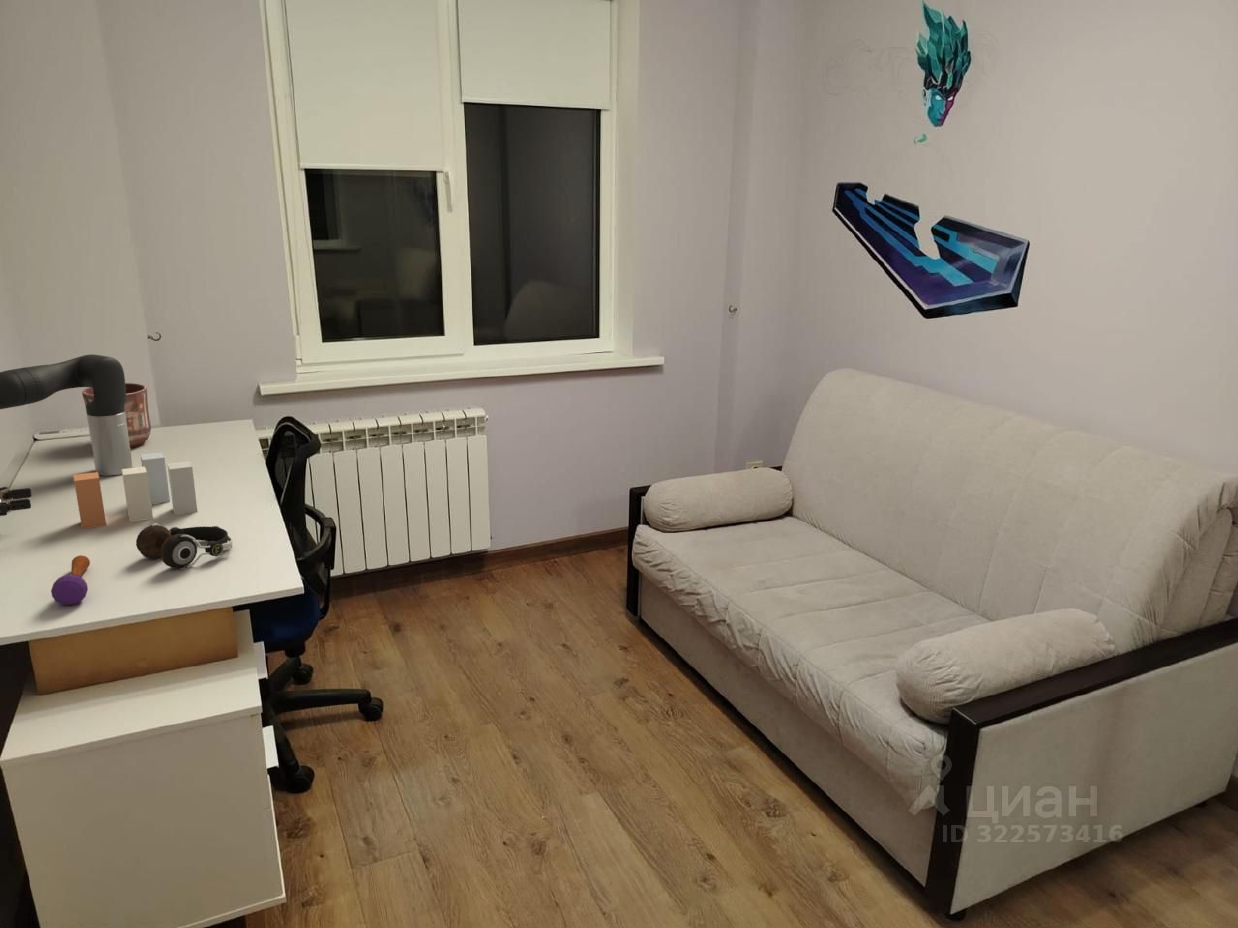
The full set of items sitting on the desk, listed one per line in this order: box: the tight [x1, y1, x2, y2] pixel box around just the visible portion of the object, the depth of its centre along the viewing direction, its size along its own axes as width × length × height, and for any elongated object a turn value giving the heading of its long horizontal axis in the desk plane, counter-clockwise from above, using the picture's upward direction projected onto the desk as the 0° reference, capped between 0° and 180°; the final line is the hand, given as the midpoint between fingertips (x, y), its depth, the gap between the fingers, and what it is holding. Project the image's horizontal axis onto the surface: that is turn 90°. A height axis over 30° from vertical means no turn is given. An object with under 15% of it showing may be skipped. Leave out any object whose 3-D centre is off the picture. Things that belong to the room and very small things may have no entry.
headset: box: [135, 522, 233, 569], centre depth 192 cm, size 17×8×20 cm
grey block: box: [166, 460, 198, 516], centre depth 215 cm, size 5×5×12 cm
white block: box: [140, 452, 171, 505], centre depth 221 cm, size 5×5×12 cm
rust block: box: [73, 471, 107, 530], centre depth 204 cm, size 5×5×12 cm
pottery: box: [81, 382, 152, 449], centre depth 265 cm, size 18×18×18 cm
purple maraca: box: [50, 554, 91, 606], centre depth 173 cm, size 6×6×20 cm
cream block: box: [121, 466, 154, 522], centre depth 210 cm, size 5×5×12 cm
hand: (30, 497), depth 198 cm, fingers open, 8 cm apart
